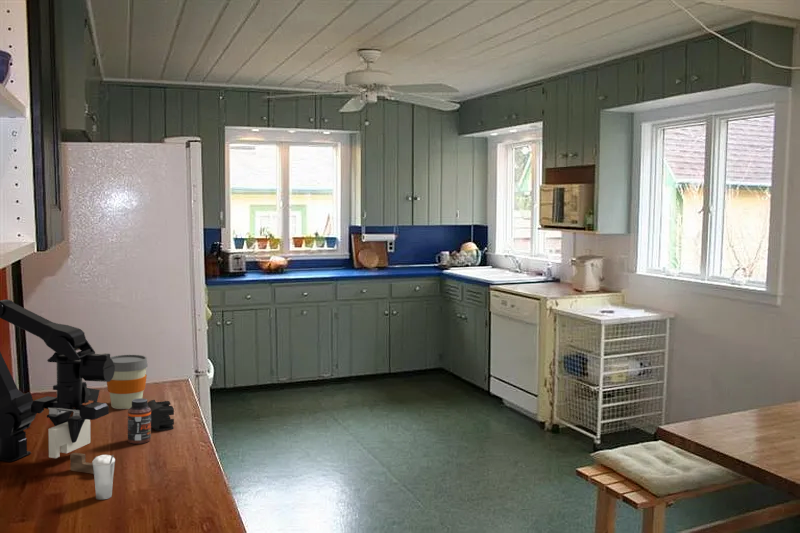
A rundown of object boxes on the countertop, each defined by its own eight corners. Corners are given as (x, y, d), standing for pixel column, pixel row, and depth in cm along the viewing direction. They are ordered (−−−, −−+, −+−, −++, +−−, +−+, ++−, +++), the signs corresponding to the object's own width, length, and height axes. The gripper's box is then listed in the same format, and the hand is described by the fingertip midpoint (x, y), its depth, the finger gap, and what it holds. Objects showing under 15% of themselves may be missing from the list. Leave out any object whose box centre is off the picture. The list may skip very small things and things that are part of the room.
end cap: (143, 423, 207) (143, 400, 207) (168, 420, 210) (168, 398, 210) (147, 433, 198) (147, 409, 198) (174, 430, 202) (174, 406, 201)
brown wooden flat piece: (70, 470, 169) (70, 454, 169) (74, 468, 170) (73, 452, 170) (106, 475, 166) (105, 459, 166) (109, 473, 167) (109, 457, 167)
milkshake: (103, 503, 151) (103, 458, 150) (88, 497, 154) (87, 453, 153) (122, 496, 155) (121, 452, 154) (106, 491, 157) (106, 447, 157)
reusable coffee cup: (120, 398, 232) (120, 353, 231) (155, 401, 230) (155, 356, 228) (96, 408, 220) (96, 361, 219) (133, 412, 217) (133, 364, 216)
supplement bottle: (143, 445, 188) (143, 403, 187) (123, 443, 189) (122, 402, 188) (155, 438, 193) (155, 398, 192) (135, 436, 195) (135, 396, 194)
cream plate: (55, 458, 169) (55, 429, 169) (48, 457, 170) (48, 428, 169) (90, 442, 181) (90, 416, 180) (83, 441, 181) (83, 415, 181)
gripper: (123, 376, 179) (123, 436, 181) (61, 369, 184) (62, 428, 186) (92, 386, 169) (93, 450, 170) (28, 379, 174) (29, 441, 175)
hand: (70, 441), depth 175 cm, fingers closed on cream plate, 2 cm apart
